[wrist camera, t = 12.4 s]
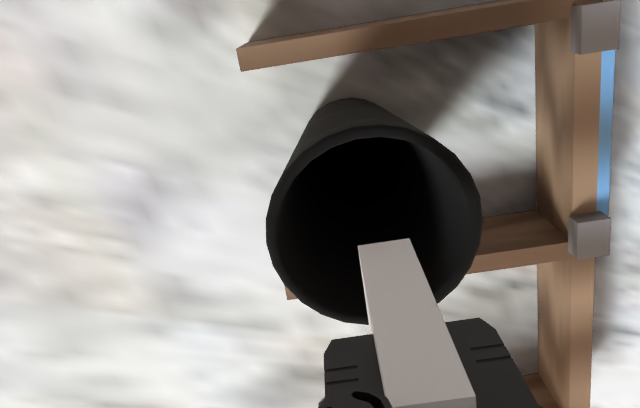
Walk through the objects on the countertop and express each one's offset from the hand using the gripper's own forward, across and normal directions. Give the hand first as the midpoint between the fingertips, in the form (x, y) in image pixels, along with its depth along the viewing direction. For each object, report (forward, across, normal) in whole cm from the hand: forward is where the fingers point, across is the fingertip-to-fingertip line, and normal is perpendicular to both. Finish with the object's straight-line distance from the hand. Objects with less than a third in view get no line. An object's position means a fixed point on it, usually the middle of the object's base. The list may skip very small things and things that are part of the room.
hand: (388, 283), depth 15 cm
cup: (+16, 0, 0) cm, 16 cm away
